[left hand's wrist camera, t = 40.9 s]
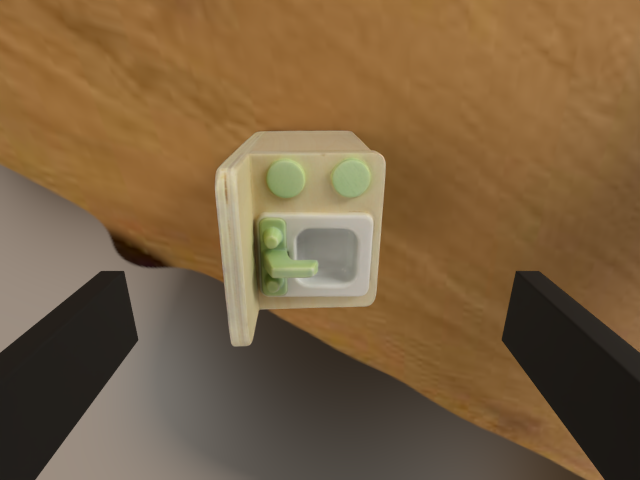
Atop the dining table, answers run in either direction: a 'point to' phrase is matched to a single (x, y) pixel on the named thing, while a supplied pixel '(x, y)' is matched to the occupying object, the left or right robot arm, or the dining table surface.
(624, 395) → the left robot arm
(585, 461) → the dining table surface
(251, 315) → the wooden play sink
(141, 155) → the dining table surface
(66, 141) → the dining table surface
